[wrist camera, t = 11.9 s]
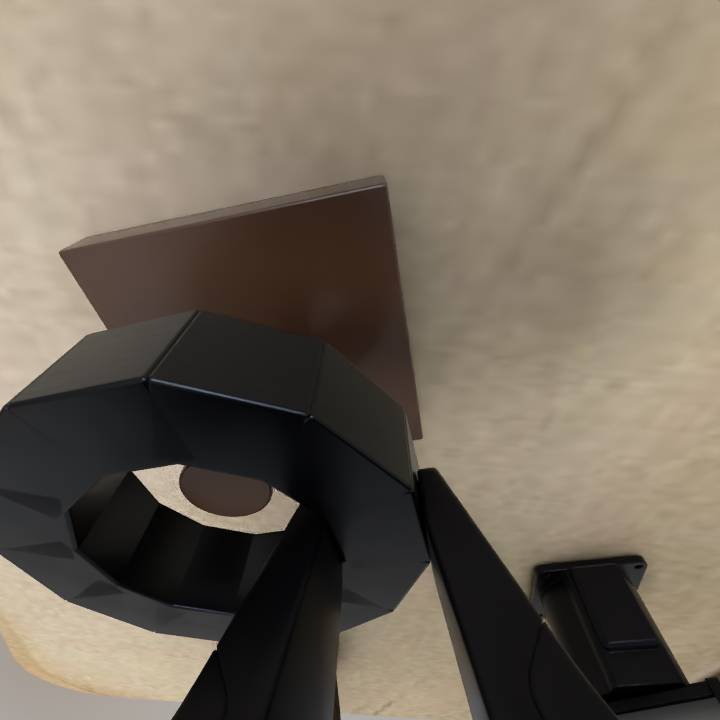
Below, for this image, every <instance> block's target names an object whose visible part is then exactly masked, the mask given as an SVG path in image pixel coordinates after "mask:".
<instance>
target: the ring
mask: <svg viewBox="0 0 720 720" xmlns="http://www.w3.org/2000/svg"><path fill="white" fill-rule="evenodd" d="M175 464H181V465H186V466H191V467H196V468H201V469H206V470H211V471H216V472H221V473H227V474H232V475H237V476H242V477H247V478H252V479H257V480H262V481H264V482H265V483H267V484H269V485H270V486H272V487H274V488H275V489H277V490H279V491H280V492H282V493H284V494H285V495H287V496H288V497H290V498H292V499H293V500H295V501H297V502H298V503H300V504H302V505H303V506H305V507H307V508H308V509H310V510H312V511H313V512H315V513H317V514H318V515H320V516H322V517H323V518H325V520H326V522H327V524H328V526H329V528H330V530H331V532H332V534H333V536H334V538H335V540H336V542H337V544H338V546H339V548H340V550H341V552H342V581H343V584H342V602H341V615H340V629H339V633H340V632H343V631H345V630H348V629H350V628H353V627H355V626H358V625H360V624H363V623H365V622H368V621H370V620H373V619H375V618H378V617H381V616H383V615H386V614H388V613H391V612H393V611H394V609H395V608H396V607H397V606H398V605H399V603H400V602H401V601H402V599H403V598H404V597H405V595H406V594H407V593H408V591H409V590H410V589H411V587H412V586H413V585H414V583H415V582H416V581H417V579H418V578H419V577H420V575H421V574H422V573H423V571H424V570H425V569H426V567H427V566H428V565H429V563H430V561H431V558H430V552H429V546H428V540H427V534H426V528H425V522H424V516H423V510H422V503H421V496H420V490H419V483H418V477H417V471H418V470H419V466H418V462H417V458H416V454H415V449H414V445H413V441H412V437H411V433H410V429H409V424H408V420H407V416H406V412H405V411H404V409H403V407H402V406H401V405H400V404H399V403H397V402H396V401H395V400H394V399H393V398H392V397H390V396H389V395H388V394H387V393H386V392H385V391H383V390H382V389H381V388H380V387H379V386H378V385H376V384H375V383H374V382H373V381H372V380H371V379H369V378H368V377H367V376H366V375H365V374H363V373H362V372H361V371H360V370H359V369H358V368H356V367H355V366H354V365H353V364H352V363H351V362H349V361H348V360H347V359H346V358H345V357H344V356H342V355H341V354H340V353H339V352H338V351H337V350H335V349H334V348H333V347H332V346H331V345H330V344H328V343H327V342H323V341H321V340H319V339H315V338H311V337H308V336H304V335H300V334H296V333H292V332H288V331H284V330H280V329H276V328H272V327H268V326H264V325H260V324H256V323H252V322H248V321H245V320H241V319H237V318H233V317H229V316H225V315H221V314H217V313H213V312H209V311H205V310H202V311H200V310H193V311H189V312H184V313H180V314H175V315H171V316H167V317H162V318H158V319H153V320H149V321H145V322H140V323H136V324H131V325H127V326H123V327H118V328H114V329H109V330H105V331H101V332H96V333H92V334H89V335H86V336H85V337H84V338H83V339H82V340H81V341H79V342H78V343H77V344H76V345H75V346H73V347H72V348H71V349H70V350H69V351H68V352H66V353H65V354H64V355H63V356H62V357H61V358H59V359H58V360H57V361H56V362H55V363H54V364H52V365H51V366H50V367H49V368H48V369H46V370H45V371H44V372H43V373H42V374H41V375H39V376H38V377H37V378H36V379H35V380H34V381H32V382H31V383H30V384H29V385H28V386H27V387H25V388H24V389H23V390H22V391H21V392H19V393H18V394H17V395H16V396H15V397H14V398H12V399H11V400H10V401H9V402H8V403H7V404H5V405H4V406H3V408H2V409H1V411H0V555H2V556H3V557H4V558H6V559H7V560H9V561H10V562H12V563H13V564H14V565H16V566H17V567H19V568H20V569H21V570H23V571H24V572H26V573H27V574H29V575H30V576H31V577H33V578H34V579H36V580H37V581H38V582H40V583H41V584H43V585H44V586H46V587H47V588H48V589H50V590H51V591H53V592H54V593H55V594H57V595H58V596H60V597H61V598H63V599H64V600H67V601H68V602H70V603H73V604H76V605H79V606H82V607H85V608H87V609H90V610H93V611H96V612H99V613H101V614H104V615H107V616H110V617H113V618H115V619H118V620H121V621H124V622H127V623H129V624H132V625H135V626H138V627H141V628H143V629H146V630H149V631H152V632H156V633H161V634H168V635H176V636H183V637H191V638H198V639H205V640H213V641H220V639H221V638H222V636H223V634H224V633H225V631H226V629H227V627H228V626H229V624H230V622H231V621H232V619H233V617H234V616H235V614H236V612H237V610H238V609H239V607H240V605H241V604H242V602H243V600H244V599H245V597H246V595H247V593H248V592H249V590H250V588H251V587H252V585H253V583H254V581H255V580H256V578H257V576H258V575H259V573H260V571H261V570H262V568H263V566H264V564H265V563H266V561H267V559H268V558H269V556H270V554H271V553H272V551H273V549H274V547H275V546H276V544H277V542H278V541H279V539H280V537H281V536H282V534H283V532H284V531H278V532H270V533H262V534H250V533H244V532H239V531H233V530H227V529H222V528H216V527H210V526H205V525H202V524H200V523H198V522H196V521H194V520H192V519H190V518H188V517H186V516H184V515H182V514H180V513H178V512H176V511H174V510H172V509H170V508H168V507H166V506H164V505H162V504H160V503H159V502H158V501H157V500H156V499H155V498H154V496H153V495H152V494H151V493H150V492H149V491H148V489H147V488H146V487H145V486H144V485H143V484H142V483H141V481H140V480H139V479H138V478H137V477H136V476H135V475H134V473H133V472H132V471H137V470H144V469H150V468H156V467H162V466H168V465H175Z"/></svg>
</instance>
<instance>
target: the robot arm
mask: <svg viewBox="0 0 720 720" xmlns="http://www.w3.org/2000/svg"><path fill="white" fill-rule="evenodd" d="M417 477H418V483H419V490H420V496H421V503H422V510H423V516H424V522H425V528H426V534H427V540H428V546H429V552H430V558H431V564H432V569H433V574H434V579H435V583H436V587H437V590H438V594H439V598H440V601H441V605H442V609H443V612H444V616H445V620H446V623H447V627H448V630H449V634H450V638H451V641H452V645H453V649H454V652H455V656H456V660H457V663H458V667H459V671H460V674H461V678H462V682H463V685H464V689H465V692H466V696H467V700H468V703H469V707H470V711H471V714H472V718H473V720H720V681H719V680H718V678H717V677H716V676H715V677H710V678H705V680H706V681H703V682H698V683H693V684H689V682H688V680H687V679H686V677H685V675H684V673H683V672H682V670H681V668H680V666H679V665H678V663H677V661H676V659H675V657H674V656H673V654H672V652H671V650H670V649H669V647H668V645H667V643H666V642H665V640H664V638H663V636H662V634H661V633H660V631H659V629H658V627H657V626H656V624H655V622H654V620H653V619H652V617H651V615H650V613H649V611H648V610H647V608H646V606H645V604H644V603H643V601H642V599H641V597H640V596H639V594H638V592H637V589H638V587H639V584H640V582H641V580H642V577H643V575H644V573H645V570H646V568H647V563H646V561H645V560H644V558H643V557H642V556H630V557H620V558H611V559H601V560H591V561H581V562H571V563H561V564H551V565H542V566H538V567H536V568H535V570H534V576H533V585H532V594H531V602H530V600H529V599H528V597H527V596H526V594H525V593H524V592H523V590H522V589H521V587H520V586H519V585H518V583H517V582H516V580H515V579H514V577H513V576H512V575H511V573H510V572H509V570H508V569H507V568H506V566H505V565H504V563H503V562H502V561H501V559H500V558H499V556H498V555H497V553H496V552H495V551H494V549H493V548H492V546H491V545H490V544H489V542H488V541H487V539H486V538H485V537H484V535H483V534H482V532H481V531H480V529H479V528H478V527H477V525H476V524H475V522H474V521H473V520H472V518H471V517H470V515H469V514H468V512H467V511H466V510H465V508H464V507H463V505H462V504H461V503H460V501H459V500H458V498H457V497H456V496H455V494H454V493H453V491H452V490H451V488H450V487H449V486H448V484H447V483H446V481H445V480H444V479H443V477H442V476H441V474H440V473H439V472H438V470H437V469H436V468H425V469H419V470H418V471H417ZM342 584H343V581H342V552H341V550H340V548H339V546H338V544H337V542H336V540H335V538H334V536H333V534H332V532H331V530H330V528H329V526H328V524H327V522H326V520H325V518H323V517H322V516H320V515H318V514H317V513H315V512H313V511H312V510H310V509H308V508H307V507H305V506H303V505H302V504H300V505H299V507H298V508H297V510H296V512H295V513H294V515H293V517H292V518H291V520H290V522H289V524H288V525H287V527H286V529H285V530H284V532H283V534H282V536H281V537H280V539H279V541H278V542H277V544H276V546H275V547H274V549H273V551H272V553H271V554H270V556H269V558H268V559H267V561H266V563H265V564H264V566H263V568H262V570H261V571H260V573H259V575H258V576H257V578H256V580H255V581H254V583H253V585H252V587H251V588H250V590H249V592H248V593H247V595H246V597H245V599H244V600H243V602H242V604H241V605H240V607H239V609H238V610H237V612H236V614H235V616H234V617H233V619H232V621H231V622H230V624H229V626H228V627H227V629H226V631H225V633H224V634H223V636H222V638H221V639H220V641H219V643H218V644H217V650H214V651H213V653H212V654H211V656H210V658H209V659H208V661H207V663H206V665H205V666H204V668H203V670H202V671H201V673H200V675H199V676H198V678H197V680H196V681H195V683H194V684H193V686H192V688H191V689H190V691H189V693H188V694H187V696H186V697H185V699H184V701H183V702H182V704H181V706H180V707H179V709H178V710H177V712H176V713H175V715H174V716H173V718H172V719H171V720H333V709H334V696H335V682H336V669H337V655H338V642H339V629H340V615H341V602H342ZM543 618H547V620H548V623H549V626H550V628H551V629H550V628H549V627H548V625H547V624H546V623H544V622H543V623H542V619H543Z"/></svg>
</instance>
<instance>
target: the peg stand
mask: <svg viewBox="0 0 720 720" xmlns="http://www.w3.org/2000/svg"><path fill="white" fill-rule="evenodd" d="M59 254H60V256H61V258H62V259H63V261H64V262H65V264H66V265H67V267H68V269H69V270H70V272H71V273H72V275H73V276H74V278H75V279H76V281H77V283H78V284H79V286H80V287H81V289H82V290H83V292H84V293H85V295H86V297H87V298H88V300H89V301H90V303H91V304H92V306H93V307H94V309H95V311H96V312H97V314H98V315H99V317H100V318H101V320H102V322H103V323H104V325H105V326H106V328H107V329H108V330H109V329H114V328H118V327H123V326H127V325H131V324H136V323H140V322H145V321H149V320H153V319H158V318H162V317H167V316H171V315H175V314H180V313H184V312H189V311H193V310H200V311H202V310H205V311H209V312H213V313H217V314H221V315H225V316H229V317H233V318H237V319H241V320H245V321H248V322H252V323H256V324H260V325H264V326H268V327H272V328H276V329H280V330H284V331H288V332H292V333H296V334H300V335H304V336H308V337H311V338H315V339H319V340H321V341H323V342H327V343H328V344H330V345H331V346H332V347H333V348H334V349H335V350H337V351H338V352H339V353H340V354H341V355H342V356H344V357H345V358H346V359H347V360H348V361H349V362H351V363H352V364H353V365H354V366H355V367H356V368H358V369H359V370H360V371H361V372H362V373H363V374H365V375H366V376H367V377H368V378H369V379H371V380H372V381H373V382H374V383H375V384H376V385H378V386H379V387H380V388H381V389H382V390H383V391H385V392H386V393H387V394H388V395H389V396H390V397H392V398H393V399H394V400H395V401H396V402H397V403H399V404H400V405H401V406H402V407H403V409H404V411H405V412H406V416H407V420H408V424H409V429H410V433H411V437H412V440H418V439H422V438H423V434H422V427H421V420H420V413H419V406H418V399H417V392H416V385H415V378H414V371H413V364H412V357H411V350H410V343H409V336H408V329H407V322H406V315H405V308H404V301H403V294H402V287H401V280H400V273H399V266H398V259H397V252H396V245H395V238H394V231H393V224H392V217H391V210H390V203H389V196H388V189H387V184H386V181H385V178H384V176H383V175H379V176H374V177H370V178H365V179H360V180H355V181H351V182H346V183H341V184H336V185H332V186H327V187H322V188H318V189H313V190H308V191H303V192H299V193H294V194H289V195H284V196H280V197H275V198H270V199H265V200H261V201H256V202H251V203H247V204H242V205H237V206H232V207H228V208H223V209H218V210H213V211H209V212H204V213H199V214H195V215H190V216H185V217H180V218H176V219H171V220H166V221H161V222H157V223H152V224H147V225H142V226H138V227H133V228H128V229H124V230H119V231H114V232H109V233H105V234H100V235H95V236H90V237H86V238H84V239H82V240H80V241H78V242H76V243H74V244H72V245H70V246H68V247H66V248H65V249H63V250H61V251H60V252H59ZM179 485H180V489H181V491H182V493H183V495H184V496H185V497H186V498H187V499H188V500H189V501H190V502H191V503H192V504H193V505H195V506H197V507H198V508H200V509H202V510H204V511H207V512H209V513H212V514H216V515H221V516H229V517H238V516H246V515H250V514H253V513H256V512H258V511H260V510H261V509H263V508H264V507H265V506H266V505H267V504H268V502H269V501H270V499H271V497H272V493H273V489H274V487H272V486H270V485H269V484H267V483H265V482H264V481H262V480H257V479H252V478H247V477H242V476H237V475H232V474H227V473H221V472H216V471H211V470H206V469H201V468H196V467H191V466H186V465H184V467H183V469H182V472H181V474H180V477H179Z"/></svg>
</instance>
